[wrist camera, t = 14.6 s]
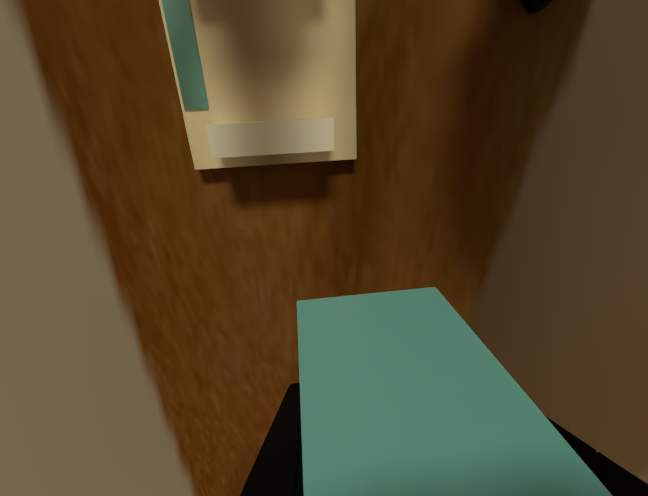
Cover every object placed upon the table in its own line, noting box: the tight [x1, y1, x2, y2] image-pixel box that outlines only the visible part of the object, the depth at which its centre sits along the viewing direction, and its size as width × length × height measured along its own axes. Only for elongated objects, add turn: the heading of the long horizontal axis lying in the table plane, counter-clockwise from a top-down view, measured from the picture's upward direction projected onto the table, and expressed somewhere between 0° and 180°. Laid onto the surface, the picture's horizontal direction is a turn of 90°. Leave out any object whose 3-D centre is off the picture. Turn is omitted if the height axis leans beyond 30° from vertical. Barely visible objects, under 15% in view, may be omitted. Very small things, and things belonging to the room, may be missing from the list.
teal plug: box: [297, 287, 612, 496], centre depth 7 cm, size 4×4×8 cm
